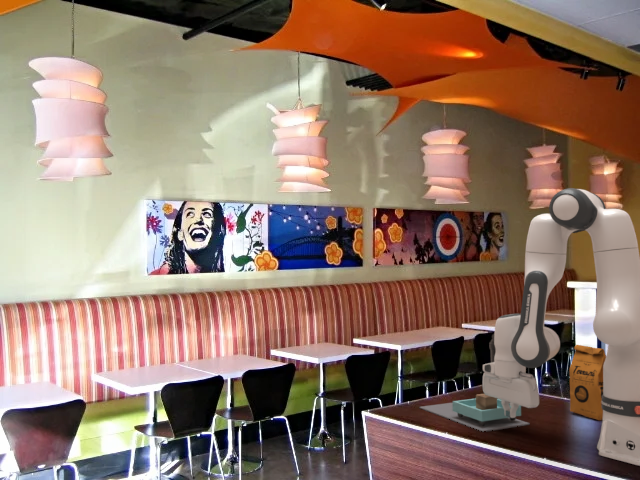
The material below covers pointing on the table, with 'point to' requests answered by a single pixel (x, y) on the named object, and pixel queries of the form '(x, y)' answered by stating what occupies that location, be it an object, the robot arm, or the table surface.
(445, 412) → the grey rectangular mat
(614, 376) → the robot arm
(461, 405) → the cyan square tray
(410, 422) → the table surface
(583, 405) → the coffee package
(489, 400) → the walnut block
